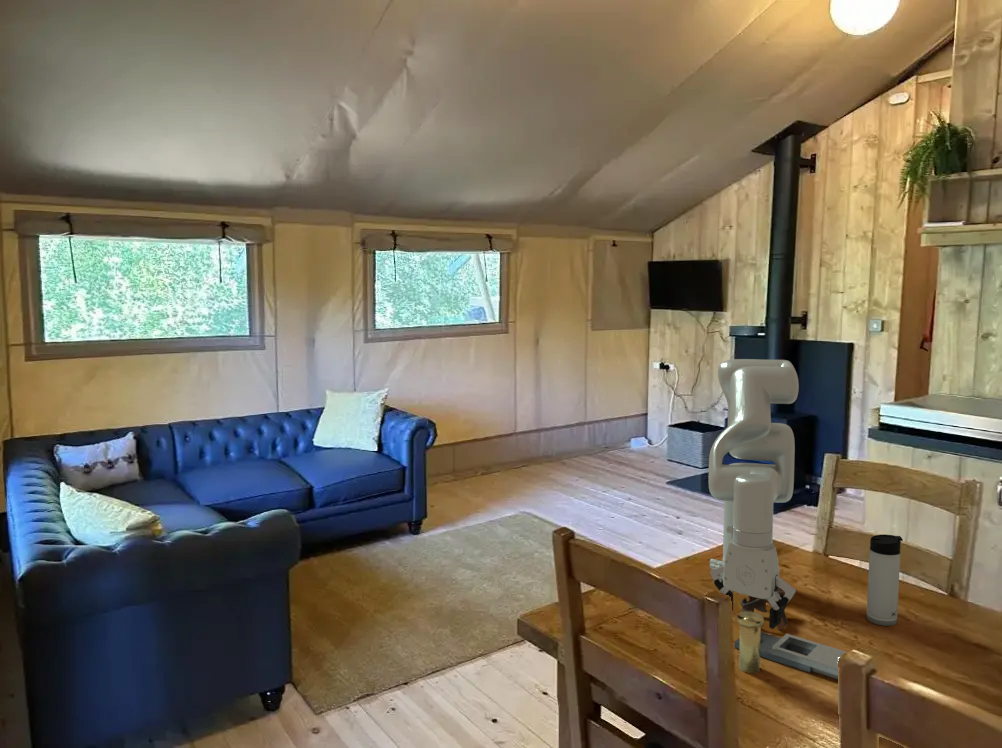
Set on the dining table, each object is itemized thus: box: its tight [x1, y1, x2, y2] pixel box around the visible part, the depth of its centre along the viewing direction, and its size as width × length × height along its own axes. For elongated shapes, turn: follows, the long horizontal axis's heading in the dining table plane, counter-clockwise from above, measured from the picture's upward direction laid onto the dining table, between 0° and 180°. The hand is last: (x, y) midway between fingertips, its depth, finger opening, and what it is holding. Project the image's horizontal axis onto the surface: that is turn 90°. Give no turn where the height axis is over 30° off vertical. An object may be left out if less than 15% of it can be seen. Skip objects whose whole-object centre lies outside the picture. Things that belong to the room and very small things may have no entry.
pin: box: [737, 611, 765, 674], centre depth 153 cm, size 5×5×11 cm
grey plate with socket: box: [734, 631, 847, 680], centre depth 157 cm, size 24×8×3 cm, turn 48°
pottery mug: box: [739, 590, 789, 631], centre depth 175 cm, size 12×10×8 cm
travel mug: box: [866, 534, 903, 627], centre depth 172 cm, size 6×7×20 cm
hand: (750, 619), depth 152 cm, fingers open, 9 cm apart
